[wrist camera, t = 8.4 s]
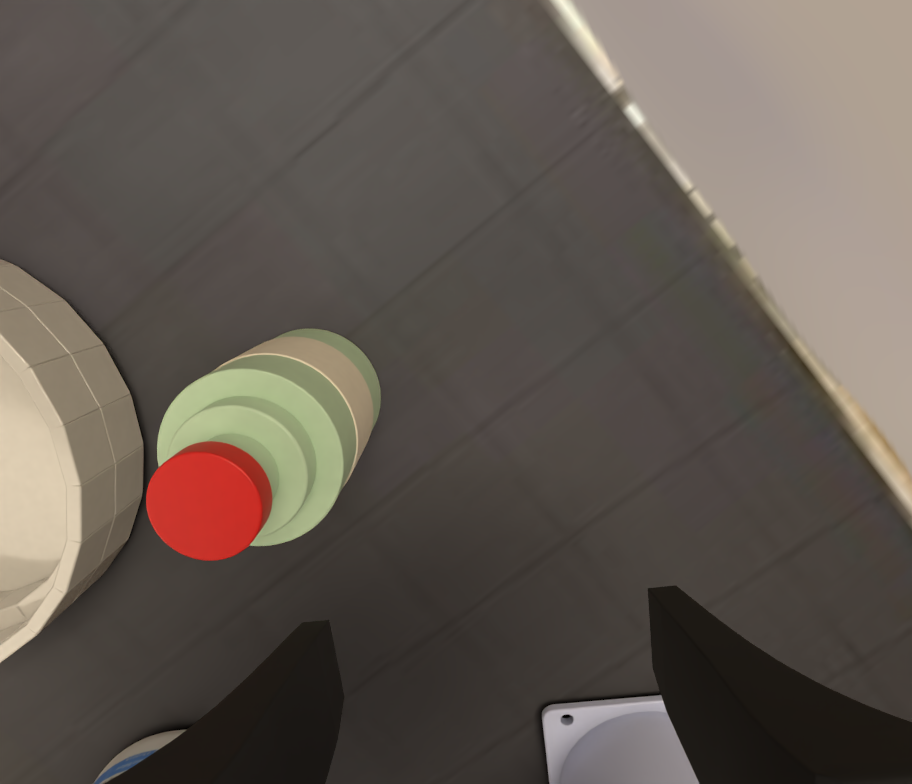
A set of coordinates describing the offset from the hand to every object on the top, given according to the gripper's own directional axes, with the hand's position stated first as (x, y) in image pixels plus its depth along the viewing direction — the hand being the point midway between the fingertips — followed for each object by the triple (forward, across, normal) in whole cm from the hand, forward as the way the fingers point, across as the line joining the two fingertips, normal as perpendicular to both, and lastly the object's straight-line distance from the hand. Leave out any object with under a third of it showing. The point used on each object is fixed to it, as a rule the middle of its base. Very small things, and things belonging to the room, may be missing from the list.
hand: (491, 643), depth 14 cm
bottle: (+10, +6, -4) cm, 13 cm away
